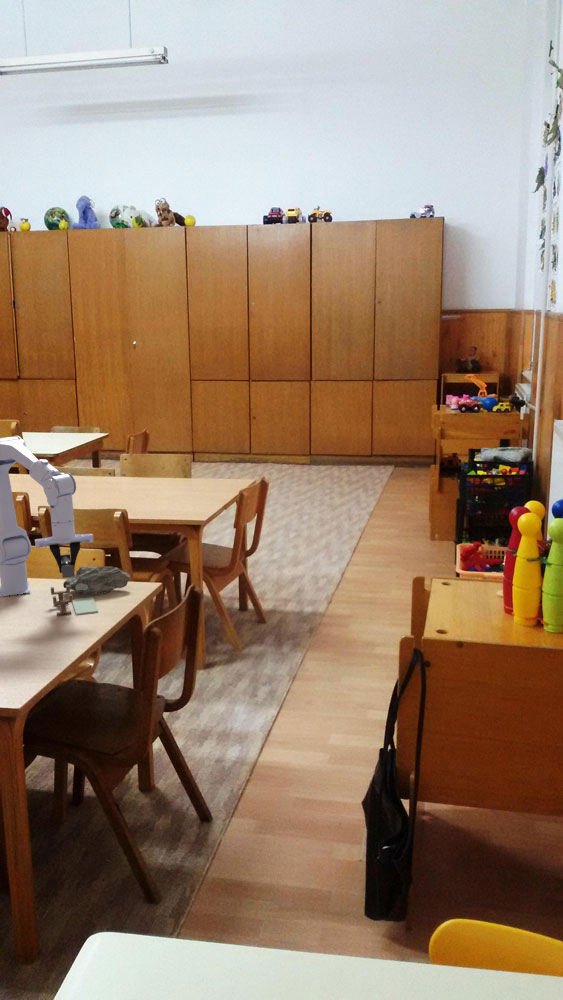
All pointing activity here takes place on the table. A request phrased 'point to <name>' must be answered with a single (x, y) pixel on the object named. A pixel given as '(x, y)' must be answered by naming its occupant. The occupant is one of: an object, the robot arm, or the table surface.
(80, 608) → the mat
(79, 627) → the table surface
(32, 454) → the robot arm
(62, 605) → the rail stand
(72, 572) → the column with square cap
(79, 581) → the rock
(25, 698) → the table surface
